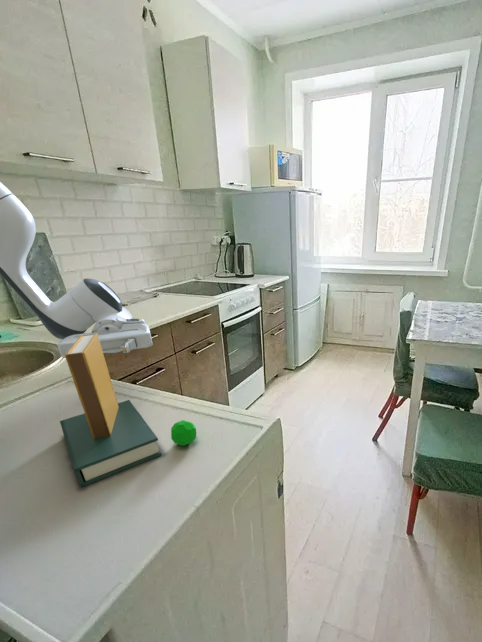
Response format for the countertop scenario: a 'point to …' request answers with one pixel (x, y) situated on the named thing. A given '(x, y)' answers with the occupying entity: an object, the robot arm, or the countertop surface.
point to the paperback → (93, 384)
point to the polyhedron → (183, 432)
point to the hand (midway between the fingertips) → (102, 352)
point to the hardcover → (109, 445)
